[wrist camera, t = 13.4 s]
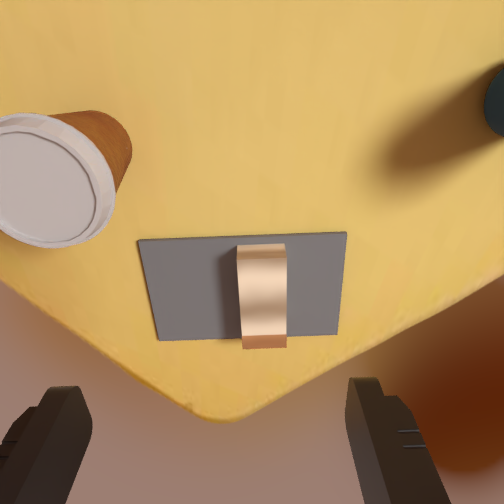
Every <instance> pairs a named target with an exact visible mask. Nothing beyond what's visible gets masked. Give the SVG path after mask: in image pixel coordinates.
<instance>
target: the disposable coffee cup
mask: <svg viewBox="0 0 504 504" xmlns="http://www.w3.org/2000/svg"><path fill="white" fill-rule="evenodd" d="M131 158H132V145H131V141H130V138H129V136H128V134H127V132H126V130H125V129H124V128H123V126H122V125H121V124H120V123H119V122H118V121H117V120H115V119H114V118H112V117H111V116H109V115H107V114H105V113H102V112H98V111H91V110H89V111H81V112H73V113H64V114H56V115H48V116H46V115H41V114H35V113H17V114H12V115H7V116H3V117H1V118H0V229H1V230H2V231H3V232H4V233H6V234H7V235H9V236H11V237H13V238H15V239H16V240H19V241H21V242H23V243H26V244H29V245H33V246H36V247H43V248H62V247H68V246H71V245H75V244H79V243H83V242H85V241H87V240H90V239H92V238H93V237H95V236H96V235H98V234H99V233H100V232H101V231H102V230H103V229H104V227H105V226H106V225H107V224H108V222H109V220H110V218H111V216H112V213H113V210H114V206H115V197H116V193H117V190H118V188H119V185H120V183H121V181H122V179H123V176H124V174H125V172H126V170H127V168H128V165H129V163H130V161H131Z"/></svg>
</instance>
